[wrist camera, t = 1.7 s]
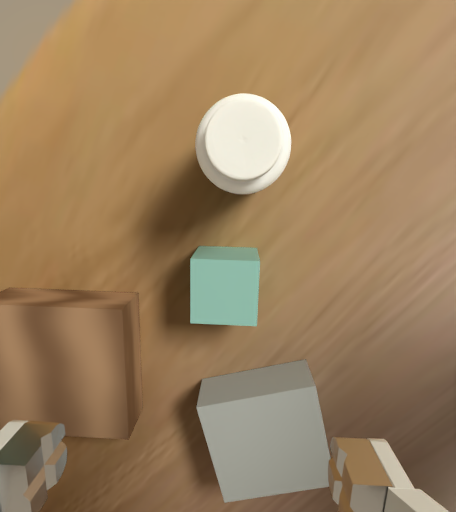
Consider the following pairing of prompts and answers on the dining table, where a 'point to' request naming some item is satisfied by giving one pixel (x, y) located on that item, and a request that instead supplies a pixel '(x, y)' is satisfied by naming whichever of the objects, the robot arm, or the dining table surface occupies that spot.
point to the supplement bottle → (243, 143)
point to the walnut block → (71, 360)
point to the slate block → (265, 431)
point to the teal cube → (224, 285)
